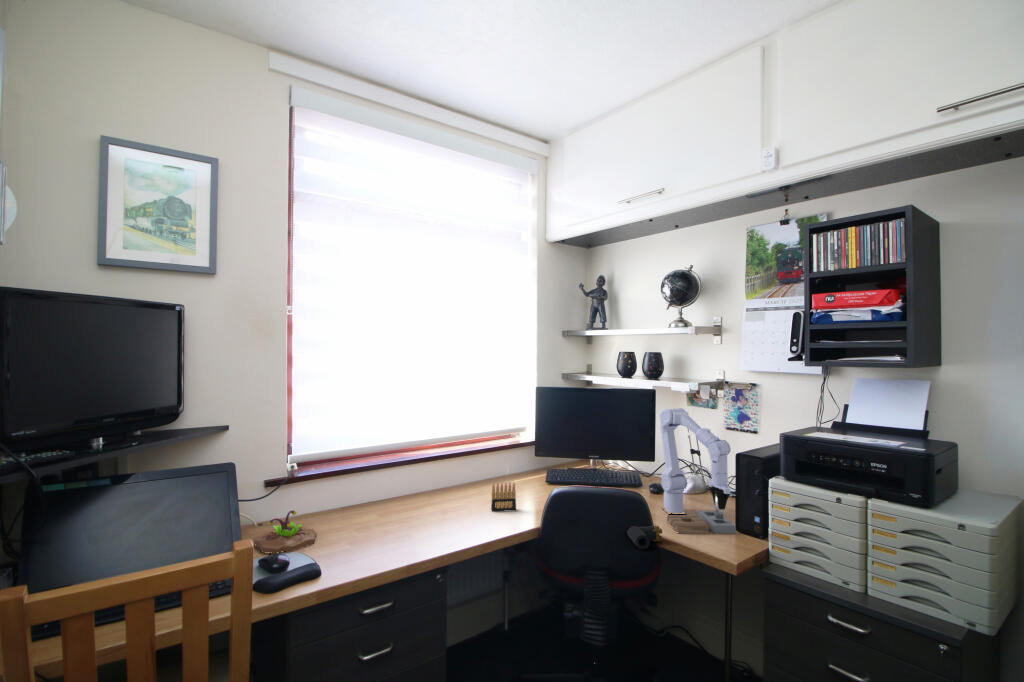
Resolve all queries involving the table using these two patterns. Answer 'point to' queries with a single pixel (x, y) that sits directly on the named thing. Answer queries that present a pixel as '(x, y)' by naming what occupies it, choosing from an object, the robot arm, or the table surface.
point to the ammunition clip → (503, 498)
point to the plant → (285, 537)
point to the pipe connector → (644, 535)
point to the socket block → (688, 524)
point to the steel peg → (718, 510)
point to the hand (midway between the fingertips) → (719, 507)
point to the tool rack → (716, 522)
